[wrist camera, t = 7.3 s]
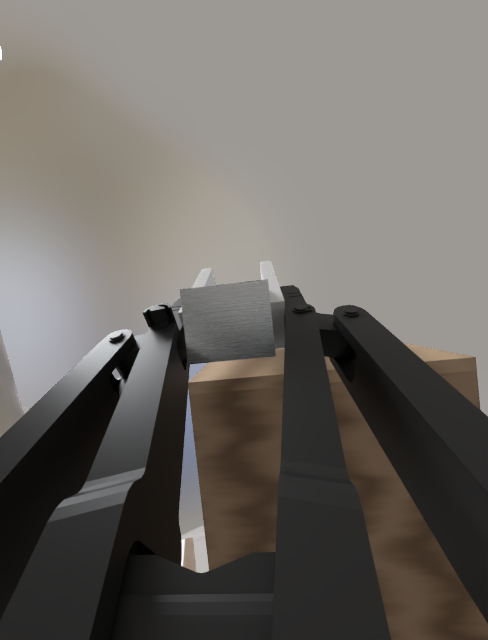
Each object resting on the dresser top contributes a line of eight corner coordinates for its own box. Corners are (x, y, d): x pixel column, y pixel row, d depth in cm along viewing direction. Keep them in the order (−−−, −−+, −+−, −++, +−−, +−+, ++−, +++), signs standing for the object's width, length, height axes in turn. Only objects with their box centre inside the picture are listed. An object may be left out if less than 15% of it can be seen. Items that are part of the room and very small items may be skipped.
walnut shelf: (225, 712, 18) (187, 382, 17) (238, 552, 30) (216, 354, 29) (508, 719, 16) (475, 357, 16) (402, 547, 28) (381, 338, 28)
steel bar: (188, 364, 8) (179, 289, 8) (238, 327, 30) (236, 307, 30) (275, 356, 8) (267, 279, 8) (263, 325, 30) (261, 304, 30)
